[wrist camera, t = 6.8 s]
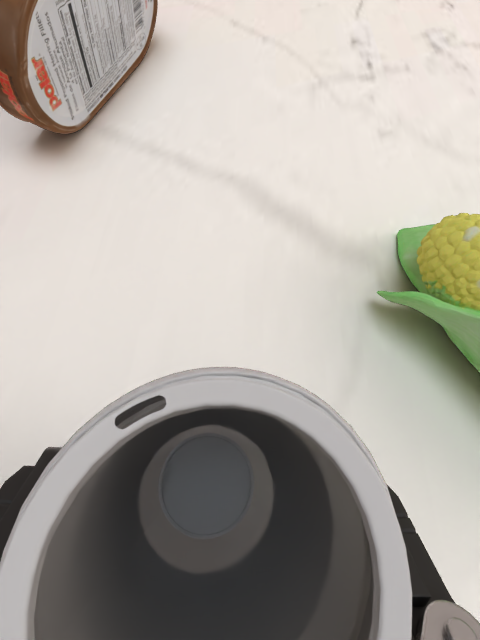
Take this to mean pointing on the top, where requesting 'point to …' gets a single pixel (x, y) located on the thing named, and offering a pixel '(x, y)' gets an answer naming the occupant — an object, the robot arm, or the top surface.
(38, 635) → the cup
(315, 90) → the top surface
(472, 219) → the corn
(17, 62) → the tin
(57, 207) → the top surface
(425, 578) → the robot arm
